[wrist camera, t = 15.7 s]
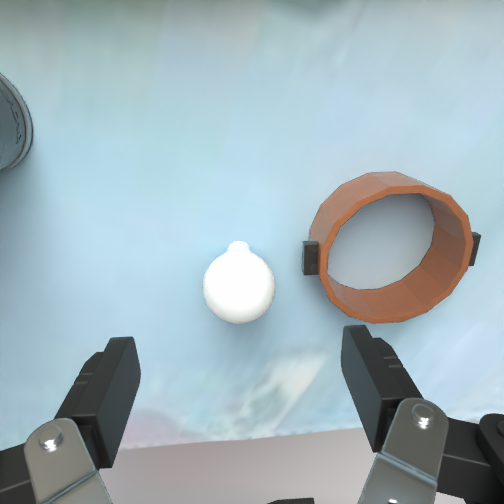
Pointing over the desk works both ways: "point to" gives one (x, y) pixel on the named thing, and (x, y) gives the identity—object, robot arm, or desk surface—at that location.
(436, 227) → the copper pot
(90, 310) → the desk surface
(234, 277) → the lightbulb
